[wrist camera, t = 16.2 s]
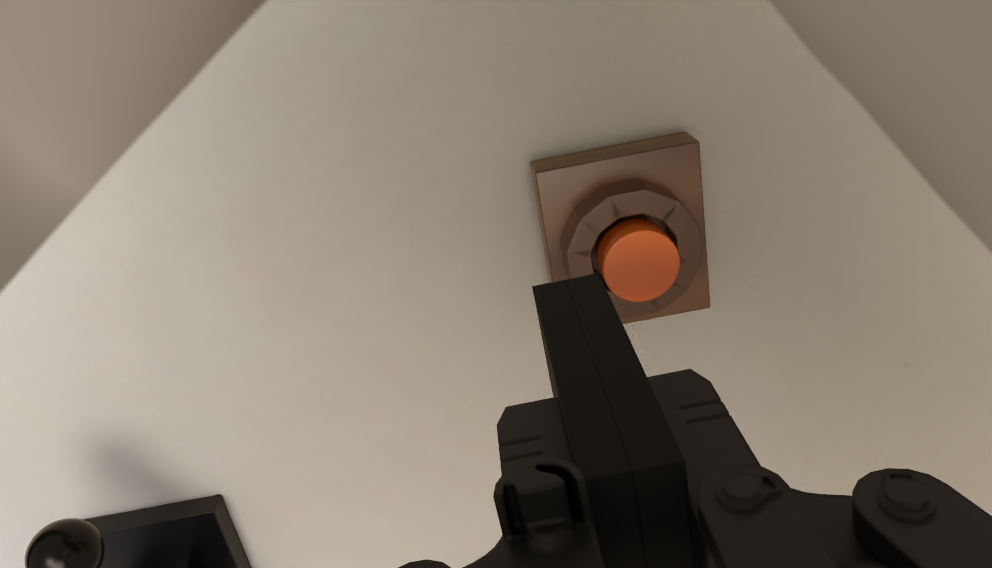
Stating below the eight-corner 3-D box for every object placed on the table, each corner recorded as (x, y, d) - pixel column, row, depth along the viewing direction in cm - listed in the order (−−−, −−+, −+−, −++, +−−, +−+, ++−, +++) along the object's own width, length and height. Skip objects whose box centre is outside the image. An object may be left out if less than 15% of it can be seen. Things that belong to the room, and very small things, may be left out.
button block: (530, 161, 38) (538, 182, 34) (686, 131, 37) (711, 149, 34) (555, 317, 41) (566, 352, 37) (697, 291, 41) (722, 323, 37)
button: (591, 225, 35) (598, 238, 34) (666, 211, 35) (677, 223, 34) (601, 293, 37) (608, 308, 35) (672, 280, 37) (683, 294, 35)
